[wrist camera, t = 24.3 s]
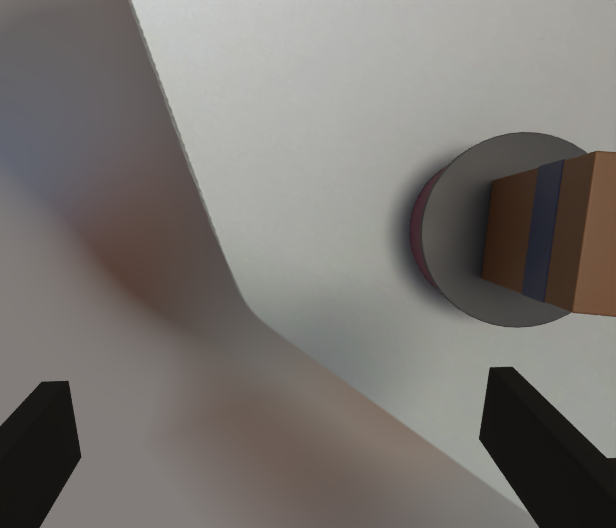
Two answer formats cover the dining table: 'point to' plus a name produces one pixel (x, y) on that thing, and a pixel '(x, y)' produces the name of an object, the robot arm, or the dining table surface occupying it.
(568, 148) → the lidded tub
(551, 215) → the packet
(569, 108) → the dining table surface
